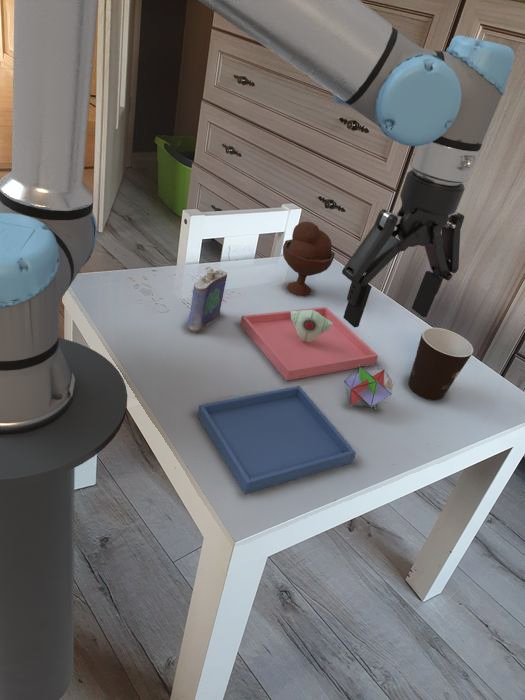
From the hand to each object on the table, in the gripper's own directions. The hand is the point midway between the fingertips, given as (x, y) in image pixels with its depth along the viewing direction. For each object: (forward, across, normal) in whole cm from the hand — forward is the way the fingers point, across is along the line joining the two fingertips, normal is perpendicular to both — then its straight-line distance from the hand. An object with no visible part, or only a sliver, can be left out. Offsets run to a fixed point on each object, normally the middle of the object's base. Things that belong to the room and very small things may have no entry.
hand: (386, 317), depth 82 cm
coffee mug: (+16, +16, -2) cm, 22 cm away
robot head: (+15, -1, +16) cm, 22 cm away
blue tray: (+15, -19, -4) cm, 25 cm away
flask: (+15, -16, +27) cm, 35 cm away
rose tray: (+15, 0, +15) cm, 22 cm away
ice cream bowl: (+16, +10, +34) cm, 39 cm away
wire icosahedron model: (+16, 0, -2) cm, 16 cm away
